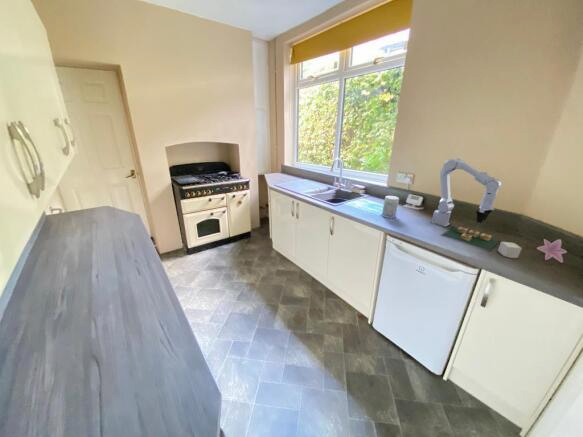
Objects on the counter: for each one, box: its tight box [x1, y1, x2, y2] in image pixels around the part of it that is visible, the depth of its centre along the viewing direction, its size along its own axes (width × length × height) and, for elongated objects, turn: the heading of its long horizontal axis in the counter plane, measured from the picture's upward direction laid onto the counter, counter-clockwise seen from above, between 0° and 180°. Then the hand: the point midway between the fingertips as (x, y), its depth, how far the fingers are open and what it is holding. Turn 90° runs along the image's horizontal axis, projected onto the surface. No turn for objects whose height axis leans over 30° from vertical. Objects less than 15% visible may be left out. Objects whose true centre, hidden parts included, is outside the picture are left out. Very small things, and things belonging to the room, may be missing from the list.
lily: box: [536, 238, 568, 264], centre depth 122 cm, size 12×12×10 cm
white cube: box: [497, 241, 523, 259], centre depth 124 cm, size 6×6×6 cm
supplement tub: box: [381, 195, 400, 219], centre depth 172 cm, size 10×10×15 cm
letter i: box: [457, 226, 469, 234], centre depth 150 cm, size 4×4×2 cm
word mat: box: [442, 227, 499, 251], centre depth 143 cm, size 24×20×1 cm
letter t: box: [468, 229, 480, 237], centre depth 146 cm, size 4×4×2 cm
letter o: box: [460, 233, 472, 241], centre depth 140 cm, size 4×4×2 cm
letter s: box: [480, 233, 492, 241], centre depth 141 cm, size 4×4×2 cm
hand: (480, 221), depth 144 cm, fingers open, 7 cm apart
